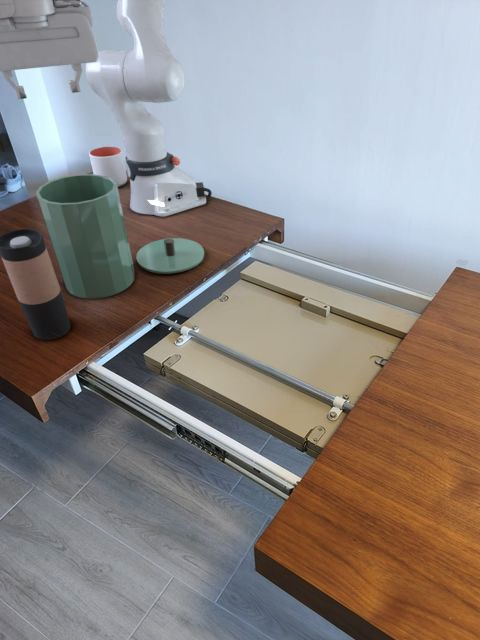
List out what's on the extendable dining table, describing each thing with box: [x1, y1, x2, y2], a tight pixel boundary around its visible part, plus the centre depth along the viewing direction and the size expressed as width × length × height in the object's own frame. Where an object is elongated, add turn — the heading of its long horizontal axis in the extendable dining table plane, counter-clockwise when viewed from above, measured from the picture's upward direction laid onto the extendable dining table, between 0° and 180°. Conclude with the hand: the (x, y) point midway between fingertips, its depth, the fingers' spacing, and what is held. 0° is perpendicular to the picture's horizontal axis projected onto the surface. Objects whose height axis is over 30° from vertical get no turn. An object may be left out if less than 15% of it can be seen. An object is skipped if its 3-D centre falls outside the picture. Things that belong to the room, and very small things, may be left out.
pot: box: [35, 173, 136, 300], centre depth 102 cm, size 15×15×22 cm
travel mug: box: [0, 228, 71, 341], centre depth 88 cm, size 8×8×20 cm
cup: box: [88, 146, 128, 188], centre depth 149 cm, size 10×10×10 cm
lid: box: [135, 237, 205, 275], centre depth 115 cm, size 16×16×5 cm
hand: (49, 95), depth 86 cm, fingers open, 8 cm apart
